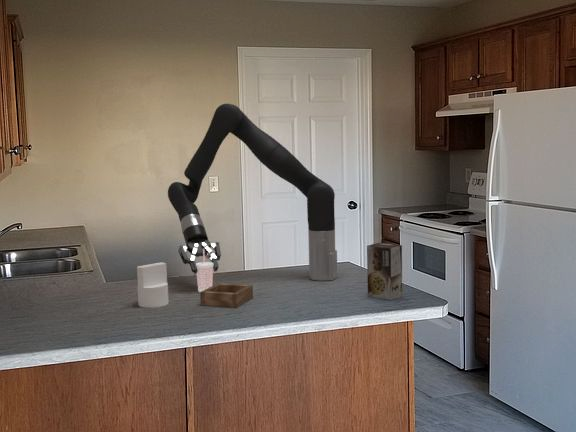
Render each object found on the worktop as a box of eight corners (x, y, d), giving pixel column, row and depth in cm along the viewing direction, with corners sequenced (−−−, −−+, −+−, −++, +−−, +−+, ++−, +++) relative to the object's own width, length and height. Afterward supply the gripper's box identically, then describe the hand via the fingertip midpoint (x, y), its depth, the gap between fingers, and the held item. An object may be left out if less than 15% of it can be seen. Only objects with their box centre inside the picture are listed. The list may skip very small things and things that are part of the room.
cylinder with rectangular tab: (157, 298, 207) (156, 261, 206) (174, 303, 201) (172, 264, 199) (132, 304, 201) (130, 265, 199) (149, 309, 195) (147, 269, 193)
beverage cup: (192, 292, 214) (190, 249, 212) (201, 288, 220) (199, 246, 218) (209, 293, 212) (207, 250, 210) (217, 289, 218) (216, 247, 216)
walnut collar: (253, 297, 205) (252, 285, 204) (237, 307, 194) (236, 294, 193) (218, 295, 209) (217, 283, 208) (200, 305, 198) (200, 292, 197)
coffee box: (403, 296, 202) (403, 244, 200) (391, 300, 198) (391, 247, 196) (378, 292, 208) (378, 242, 206) (366, 296, 204) (366, 244, 202)
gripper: (174, 225, 217) (186, 267, 208) (216, 222, 223) (229, 262, 214) (171, 239, 222) (182, 280, 213) (211, 235, 228) (224, 275, 219)
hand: (206, 271), depth 214 cm, fingers closed on beverage cup, 6 cm apart
